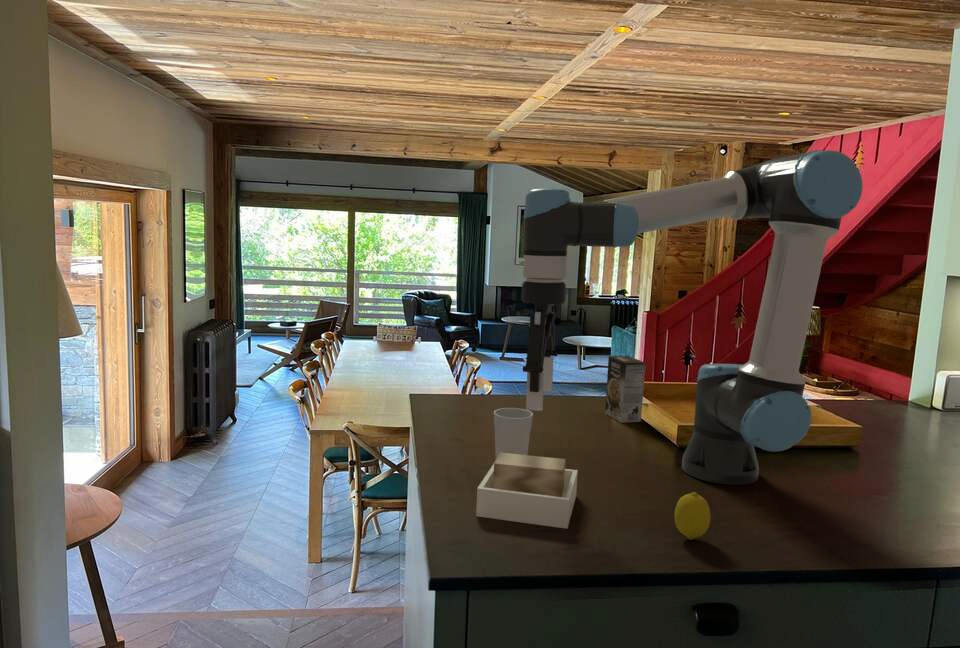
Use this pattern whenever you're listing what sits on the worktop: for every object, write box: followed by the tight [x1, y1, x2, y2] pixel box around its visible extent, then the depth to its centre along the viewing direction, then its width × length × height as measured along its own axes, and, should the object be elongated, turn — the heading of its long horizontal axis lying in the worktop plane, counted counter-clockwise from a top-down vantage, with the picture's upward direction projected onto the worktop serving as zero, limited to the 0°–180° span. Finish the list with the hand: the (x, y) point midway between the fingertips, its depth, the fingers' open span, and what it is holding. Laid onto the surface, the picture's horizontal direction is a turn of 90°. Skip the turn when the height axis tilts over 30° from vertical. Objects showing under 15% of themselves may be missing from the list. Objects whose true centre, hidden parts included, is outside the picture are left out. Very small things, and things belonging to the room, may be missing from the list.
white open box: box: [475, 463, 579, 530], centre depth 121 cm, size 16×15×5 cm
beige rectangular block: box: [493, 453, 567, 497], centre depth 120 cm, size 12×6×5 cm, turn 79°
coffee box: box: [604, 355, 647, 423], centre depth 180 cm, size 9×6×16 cm
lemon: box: [674, 491, 711, 541], centre depth 109 cm, size 6×6×8 cm
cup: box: [493, 407, 534, 460], centre depth 138 cm, size 8×8×12 cm
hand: (539, 400), depth 120 cm, fingers open, 13 cm apart
